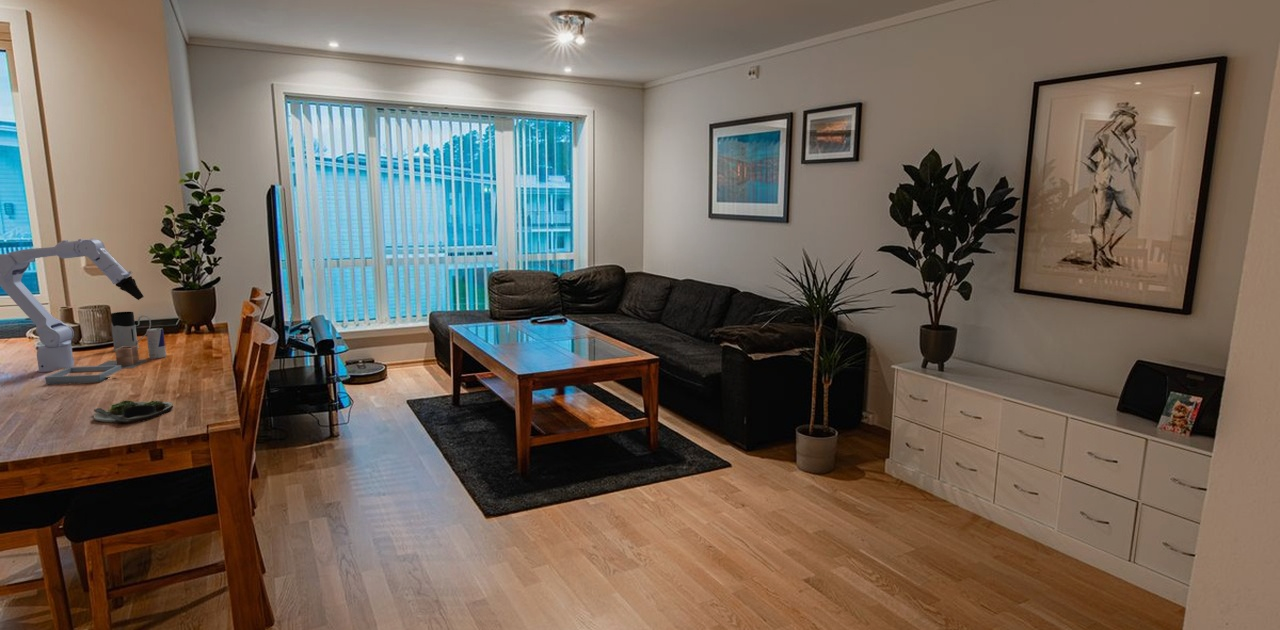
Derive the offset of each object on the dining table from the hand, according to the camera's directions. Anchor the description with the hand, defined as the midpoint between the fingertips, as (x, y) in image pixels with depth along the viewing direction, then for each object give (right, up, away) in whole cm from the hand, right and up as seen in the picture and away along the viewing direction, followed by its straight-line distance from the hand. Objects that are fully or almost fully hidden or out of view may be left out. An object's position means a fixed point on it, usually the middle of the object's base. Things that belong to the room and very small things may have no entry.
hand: (139, 297), depth 251 cm
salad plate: (+35, -36, -51) cm, 72 cm away
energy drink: (-3, -24, +14) cm, 28 cm away
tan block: (-7, -24, +4) cm, 26 cm away
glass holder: (-25, -21, +31) cm, 45 cm away
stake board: (-9, -26, +2) cm, 27 cm away
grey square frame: (-10, -28, -13) cm, 32 cm away
